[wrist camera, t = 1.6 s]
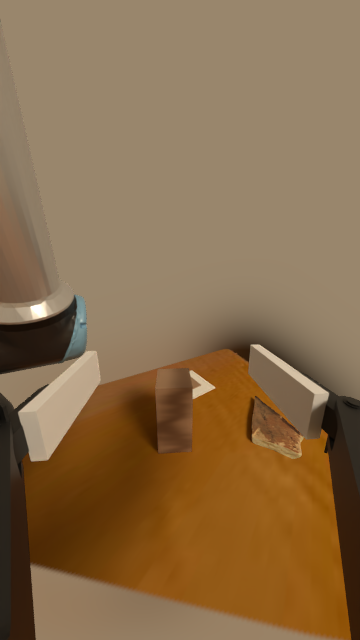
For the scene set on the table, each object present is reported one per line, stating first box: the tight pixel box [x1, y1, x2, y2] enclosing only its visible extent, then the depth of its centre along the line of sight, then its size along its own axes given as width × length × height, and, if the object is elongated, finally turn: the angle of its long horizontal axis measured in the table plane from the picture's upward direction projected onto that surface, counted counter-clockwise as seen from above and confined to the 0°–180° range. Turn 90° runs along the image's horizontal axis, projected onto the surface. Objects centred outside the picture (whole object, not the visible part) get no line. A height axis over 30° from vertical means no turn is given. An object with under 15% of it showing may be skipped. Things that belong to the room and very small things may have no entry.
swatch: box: [189, 371, 215, 399], centre depth 41 cm, size 9×9×1 cm
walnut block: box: [155, 368, 193, 453], centre depth 26 cm, size 5×5×11 cm
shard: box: [252, 396, 304, 459], centre depth 30 cm, size 11×8×2 cm
